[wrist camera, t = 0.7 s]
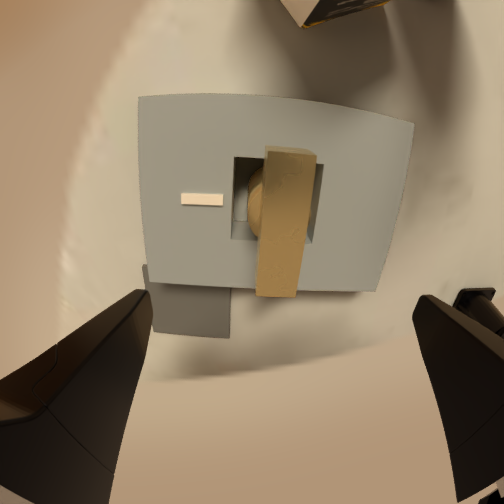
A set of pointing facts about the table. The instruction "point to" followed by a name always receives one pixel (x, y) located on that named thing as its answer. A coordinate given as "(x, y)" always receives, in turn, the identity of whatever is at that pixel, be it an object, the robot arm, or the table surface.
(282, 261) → the t key
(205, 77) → the table surface
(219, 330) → the pad
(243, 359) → the table surface
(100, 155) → the table surface
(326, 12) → the medicine bottle
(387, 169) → the grey socket block
